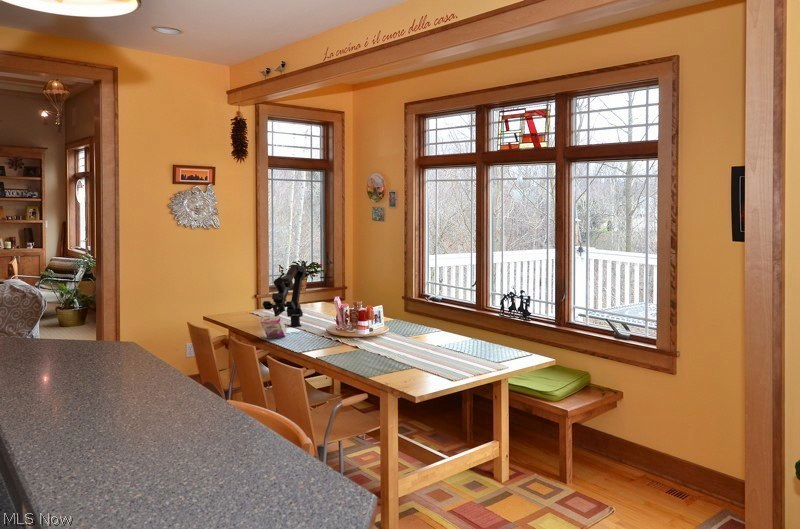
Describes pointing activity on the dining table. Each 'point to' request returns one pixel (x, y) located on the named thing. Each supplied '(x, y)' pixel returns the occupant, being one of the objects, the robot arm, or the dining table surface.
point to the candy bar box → (273, 326)
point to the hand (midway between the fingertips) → (275, 317)
